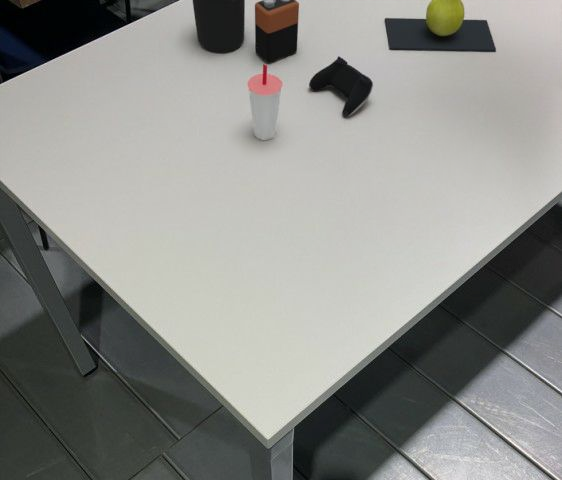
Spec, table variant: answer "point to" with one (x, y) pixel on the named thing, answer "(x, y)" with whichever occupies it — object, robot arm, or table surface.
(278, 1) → the battery
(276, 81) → the cup
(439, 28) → the fruit
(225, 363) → the table surface
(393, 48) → the mat
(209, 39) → the pen holder
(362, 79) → the gaming controller
